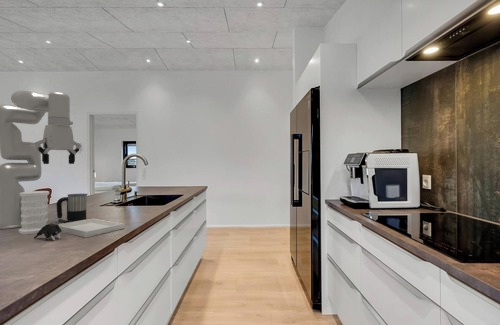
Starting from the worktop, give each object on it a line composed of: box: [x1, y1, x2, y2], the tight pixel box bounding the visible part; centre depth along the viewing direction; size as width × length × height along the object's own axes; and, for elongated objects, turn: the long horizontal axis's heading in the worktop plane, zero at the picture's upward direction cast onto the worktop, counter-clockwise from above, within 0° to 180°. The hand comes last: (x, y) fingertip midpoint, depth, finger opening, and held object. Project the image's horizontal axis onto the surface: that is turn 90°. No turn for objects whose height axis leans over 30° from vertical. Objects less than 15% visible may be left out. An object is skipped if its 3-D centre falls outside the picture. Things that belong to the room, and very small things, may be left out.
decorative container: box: [18, 190, 50, 235], centre depth 129 cm, size 12×12×18 cm
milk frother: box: [56, 193, 88, 224], centre depth 146 cm, size 14×16×15 cm
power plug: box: [33, 222, 62, 241], centre depth 115 cm, size 6×8×12 cm
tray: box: [58, 218, 126, 239], centre depth 131 cm, size 26×18×2 cm
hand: (59, 163), depth 116 cm, fingers open, 9 cm apart
